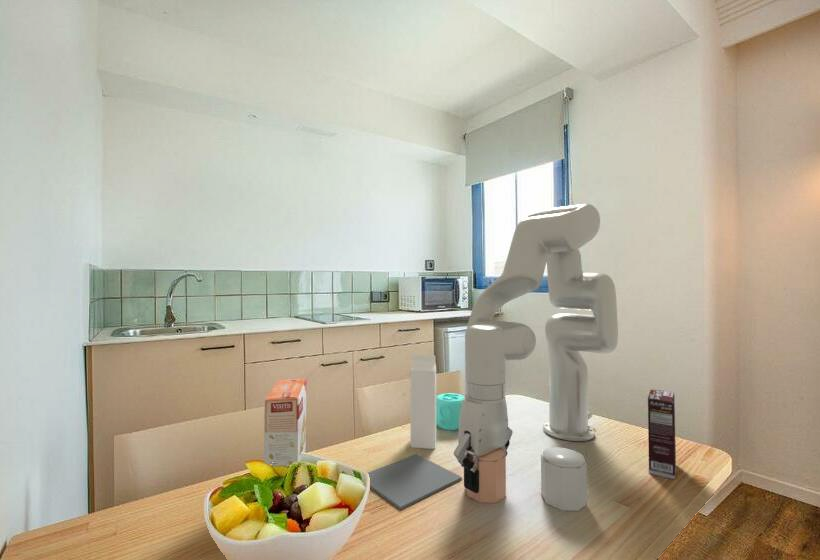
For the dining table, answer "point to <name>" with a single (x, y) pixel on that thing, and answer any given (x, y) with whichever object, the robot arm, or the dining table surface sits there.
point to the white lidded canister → (564, 479)
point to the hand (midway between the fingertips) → (485, 481)
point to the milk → (423, 401)
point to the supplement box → (661, 433)
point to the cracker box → (285, 422)
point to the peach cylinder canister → (490, 477)
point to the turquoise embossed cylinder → (448, 410)
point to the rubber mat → (410, 480)
